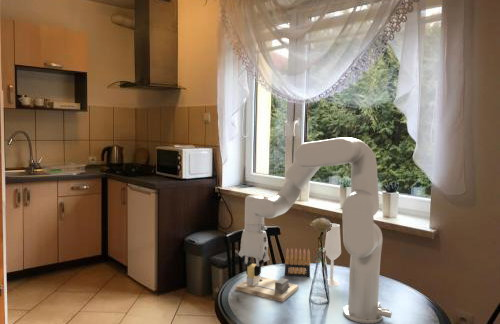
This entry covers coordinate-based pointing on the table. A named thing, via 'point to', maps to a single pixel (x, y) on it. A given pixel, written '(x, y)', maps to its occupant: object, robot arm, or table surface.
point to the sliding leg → (252, 275)
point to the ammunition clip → (297, 264)
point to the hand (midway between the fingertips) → (253, 273)
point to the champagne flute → (333, 249)
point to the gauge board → (269, 288)
